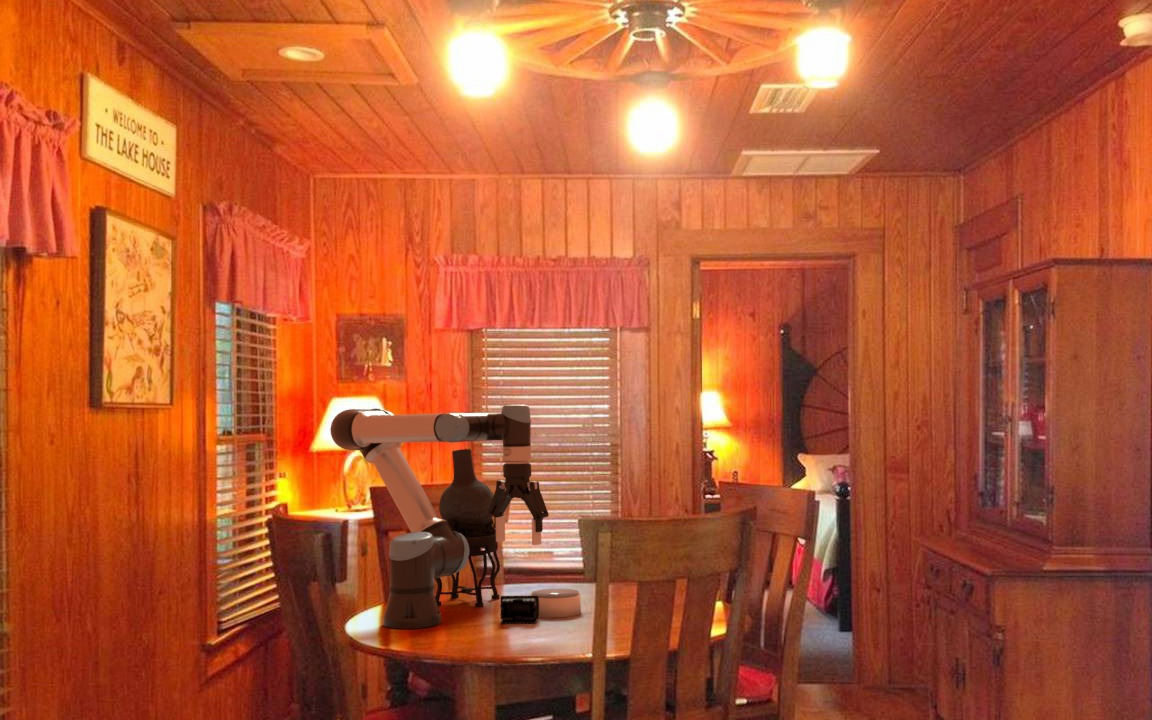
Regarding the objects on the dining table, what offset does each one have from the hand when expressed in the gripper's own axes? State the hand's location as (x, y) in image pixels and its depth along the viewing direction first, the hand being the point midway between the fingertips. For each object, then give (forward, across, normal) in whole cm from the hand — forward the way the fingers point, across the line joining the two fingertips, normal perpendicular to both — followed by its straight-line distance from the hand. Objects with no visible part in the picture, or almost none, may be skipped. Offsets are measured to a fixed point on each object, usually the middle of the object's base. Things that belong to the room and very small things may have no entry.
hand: (518, 543), depth 281 cm
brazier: (+21, -35, +13) cm, 43 cm away
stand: (+20, -1, +15) cm, 25 cm away
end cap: (+21, 0, 0) cm, 21 cm away
